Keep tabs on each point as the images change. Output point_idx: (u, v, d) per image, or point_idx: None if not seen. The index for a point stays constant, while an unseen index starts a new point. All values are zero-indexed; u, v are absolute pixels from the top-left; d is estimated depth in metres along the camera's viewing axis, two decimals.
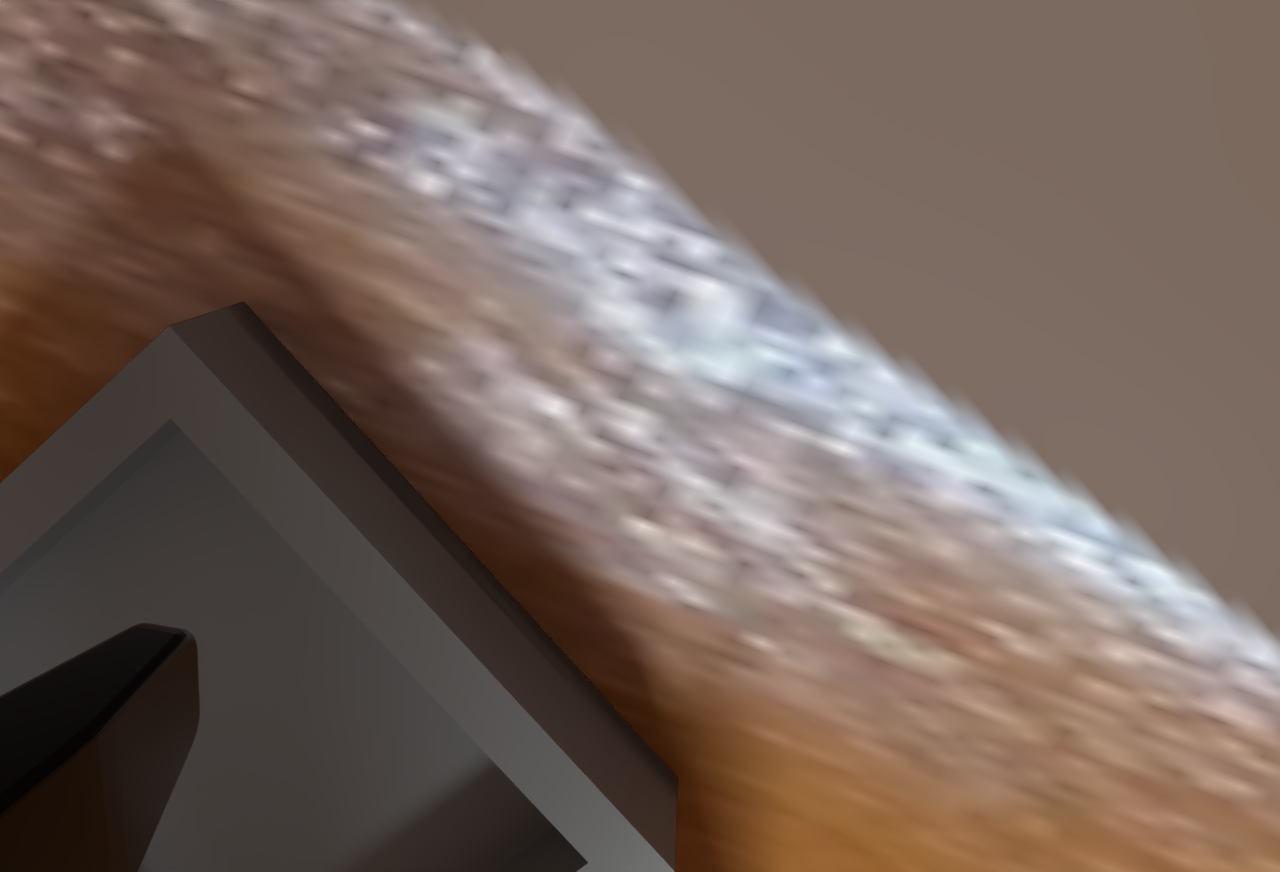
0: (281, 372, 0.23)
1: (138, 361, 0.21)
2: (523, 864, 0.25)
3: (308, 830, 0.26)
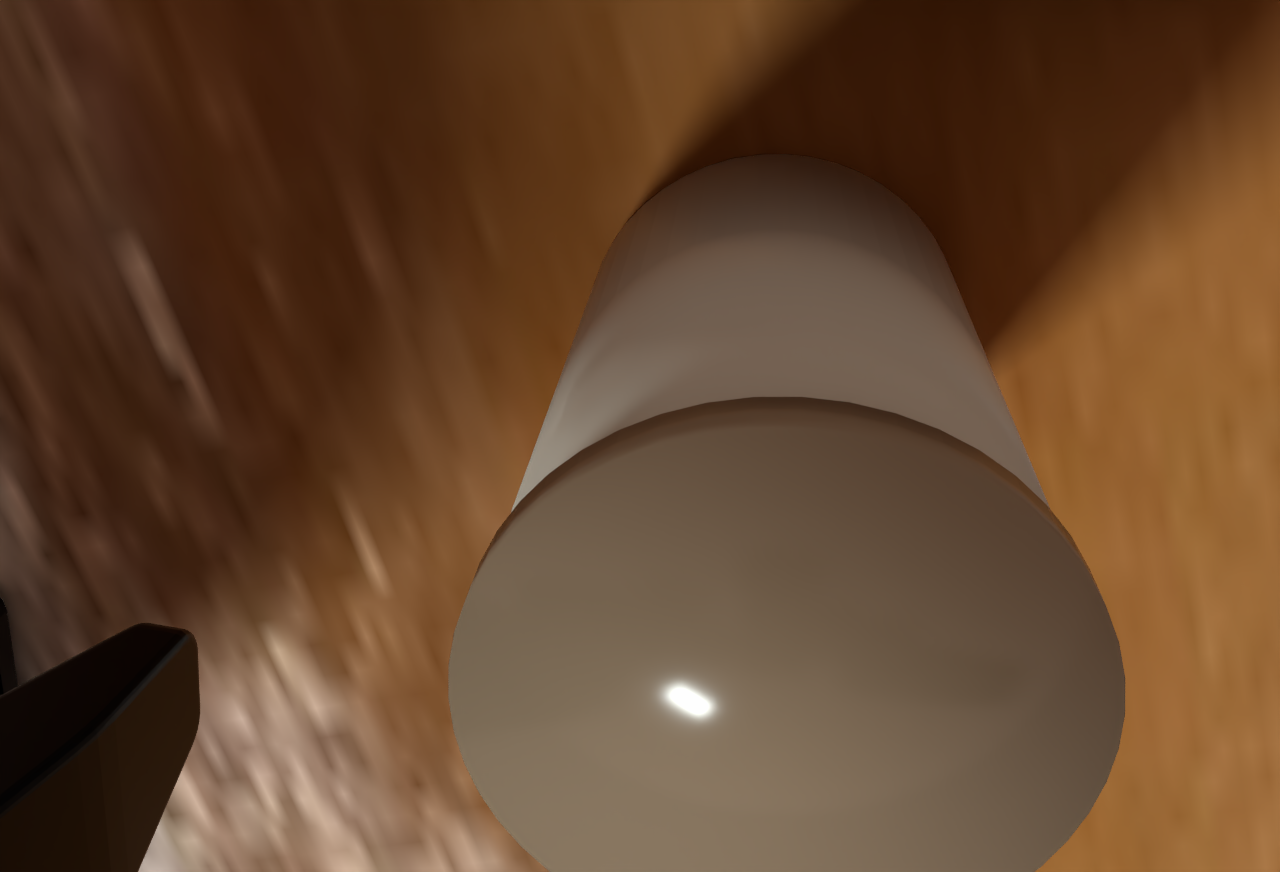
0: None
1: None
2: None
3: None
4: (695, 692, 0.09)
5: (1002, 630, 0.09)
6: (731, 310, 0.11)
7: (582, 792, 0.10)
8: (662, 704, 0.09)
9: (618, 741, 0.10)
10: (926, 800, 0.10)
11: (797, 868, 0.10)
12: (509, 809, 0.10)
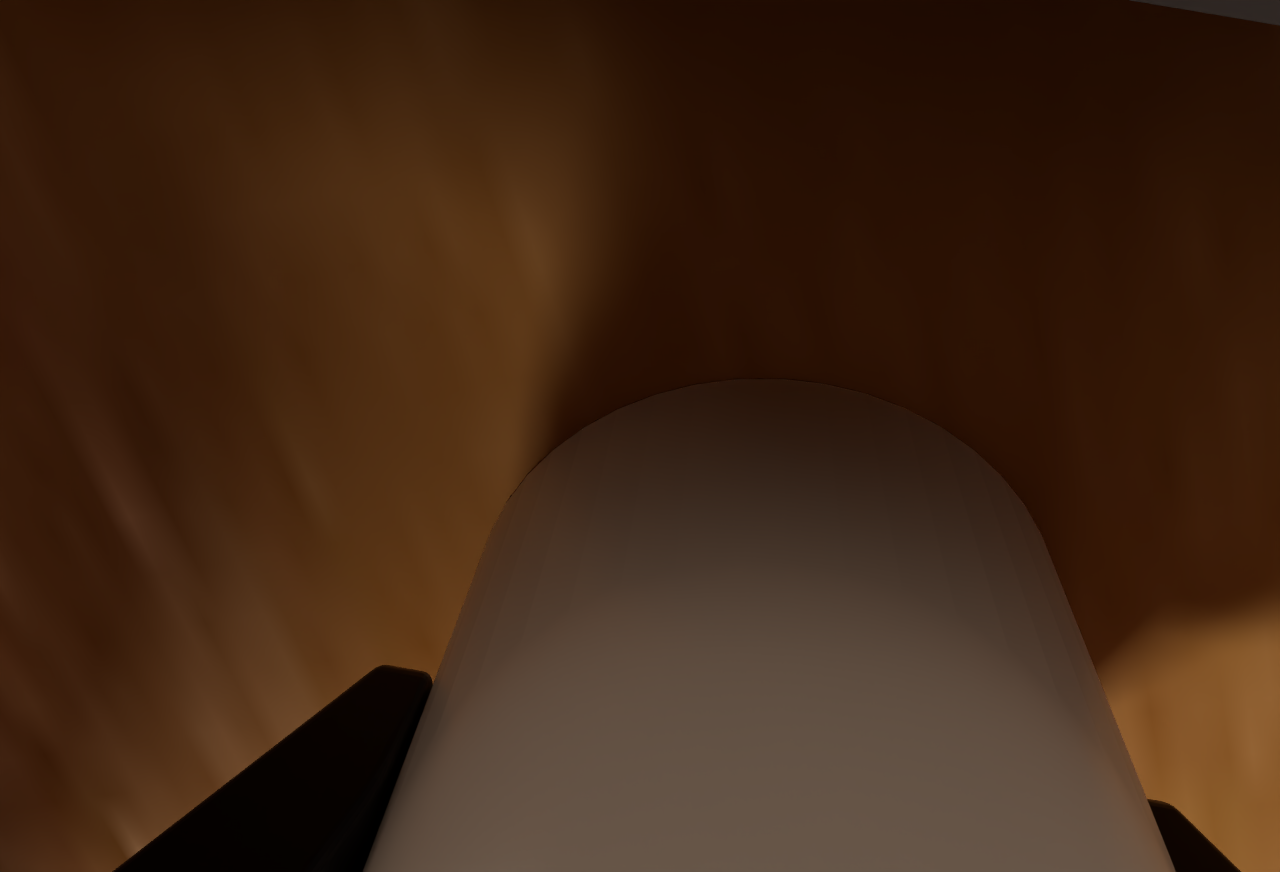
0: None
1: None
2: None
3: None
4: None
5: None
6: None
7: None
8: None
9: None
10: None
11: None
12: None
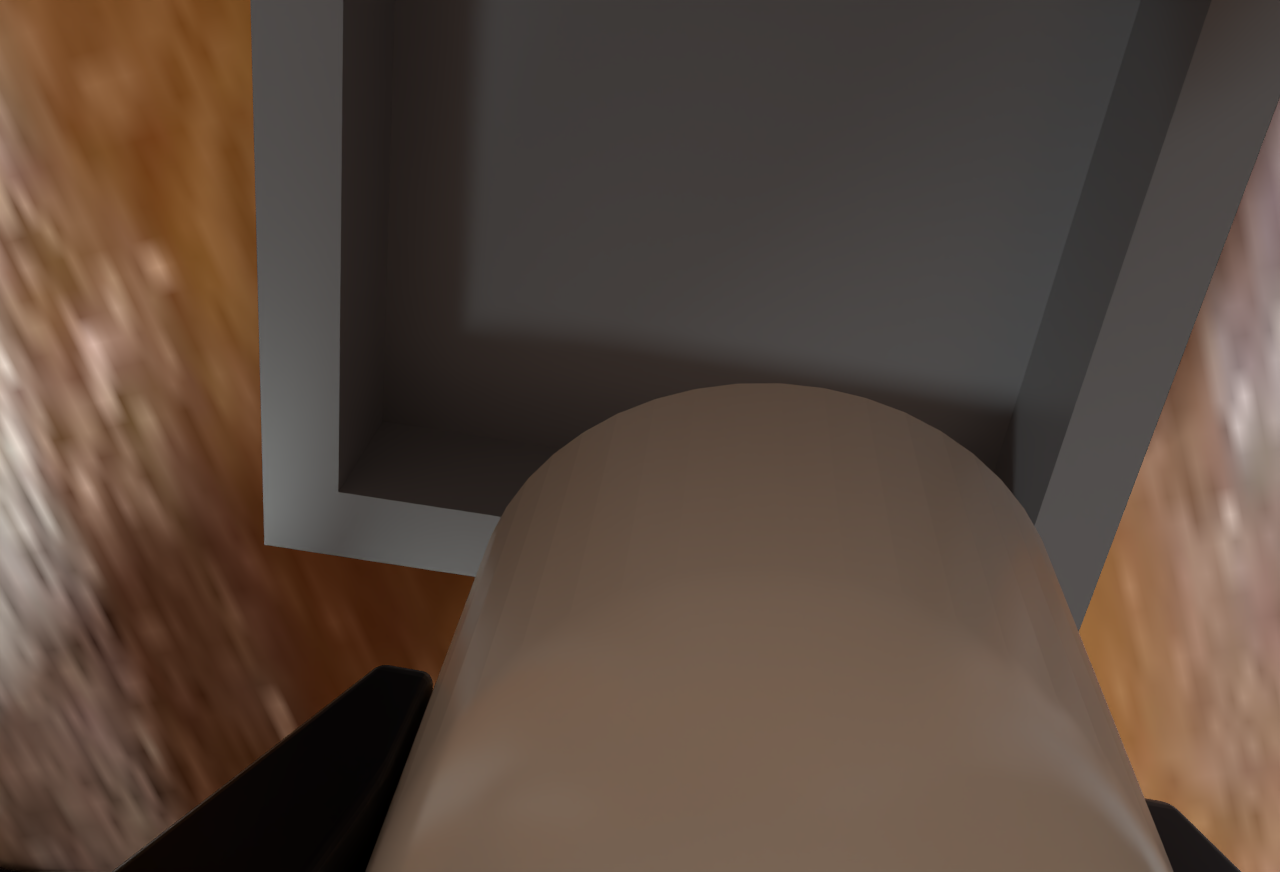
0: None
1: None
2: None
3: (691, 282, 0.19)
4: None
5: None
6: None
7: None
8: None
9: None
10: None
11: None
12: None
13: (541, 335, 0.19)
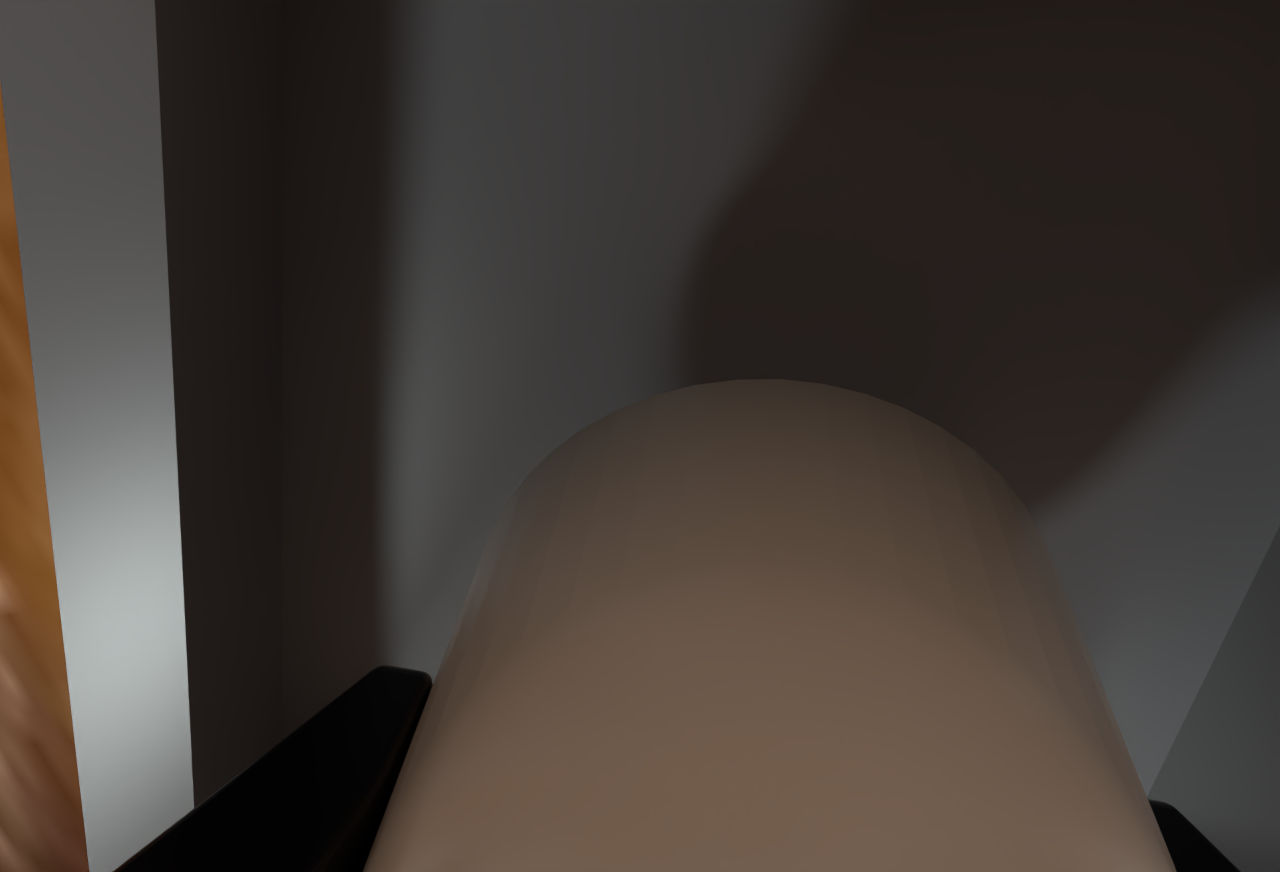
0: None
1: None
2: None
3: None
4: None
5: None
6: None
7: None
8: None
9: None
10: None
11: None
12: None
13: None
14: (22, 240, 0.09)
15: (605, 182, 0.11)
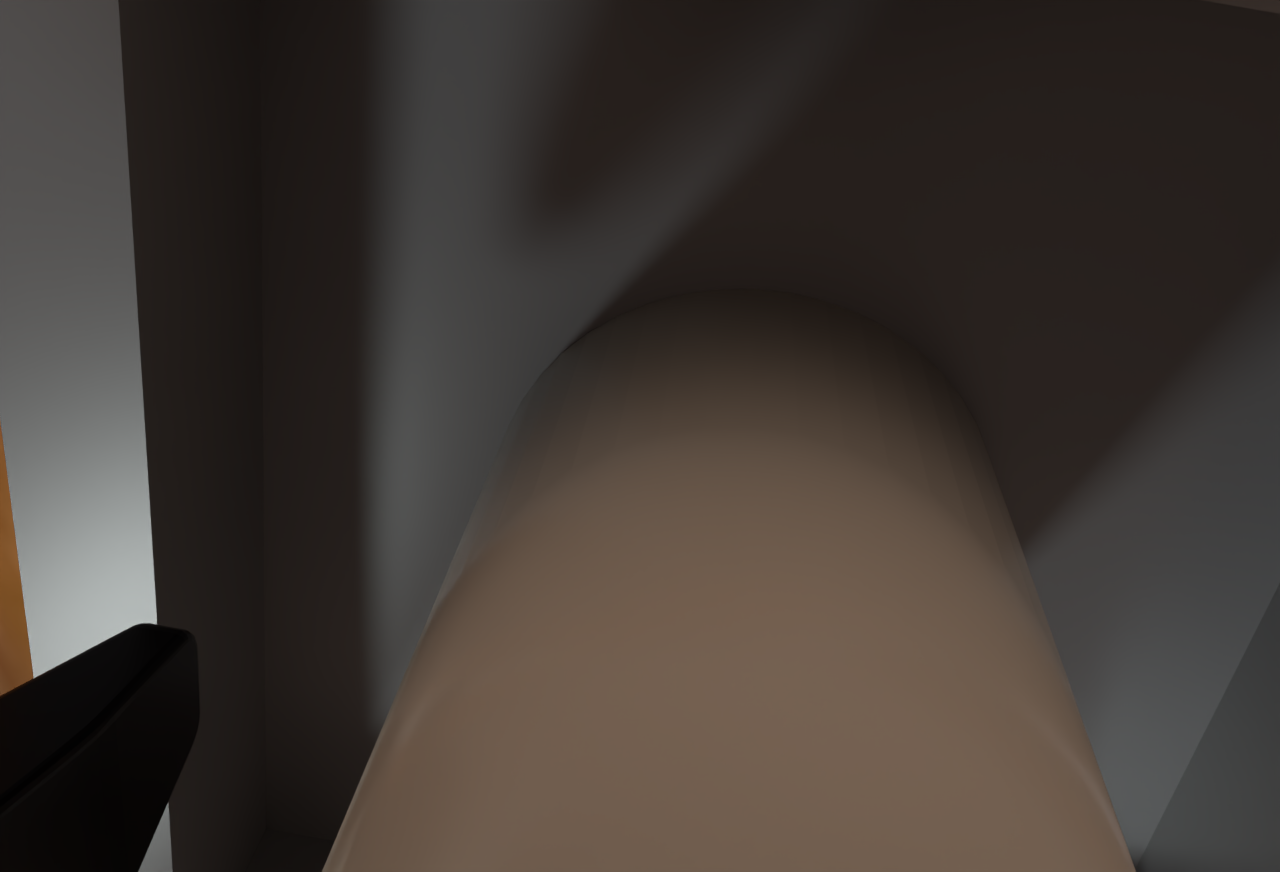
0: None
1: None
2: None
3: None
4: None
5: None
6: (643, 661, 0.06)
7: None
8: None
9: None
10: None
11: None
12: None
13: None
14: None
15: (596, 201, 0.11)
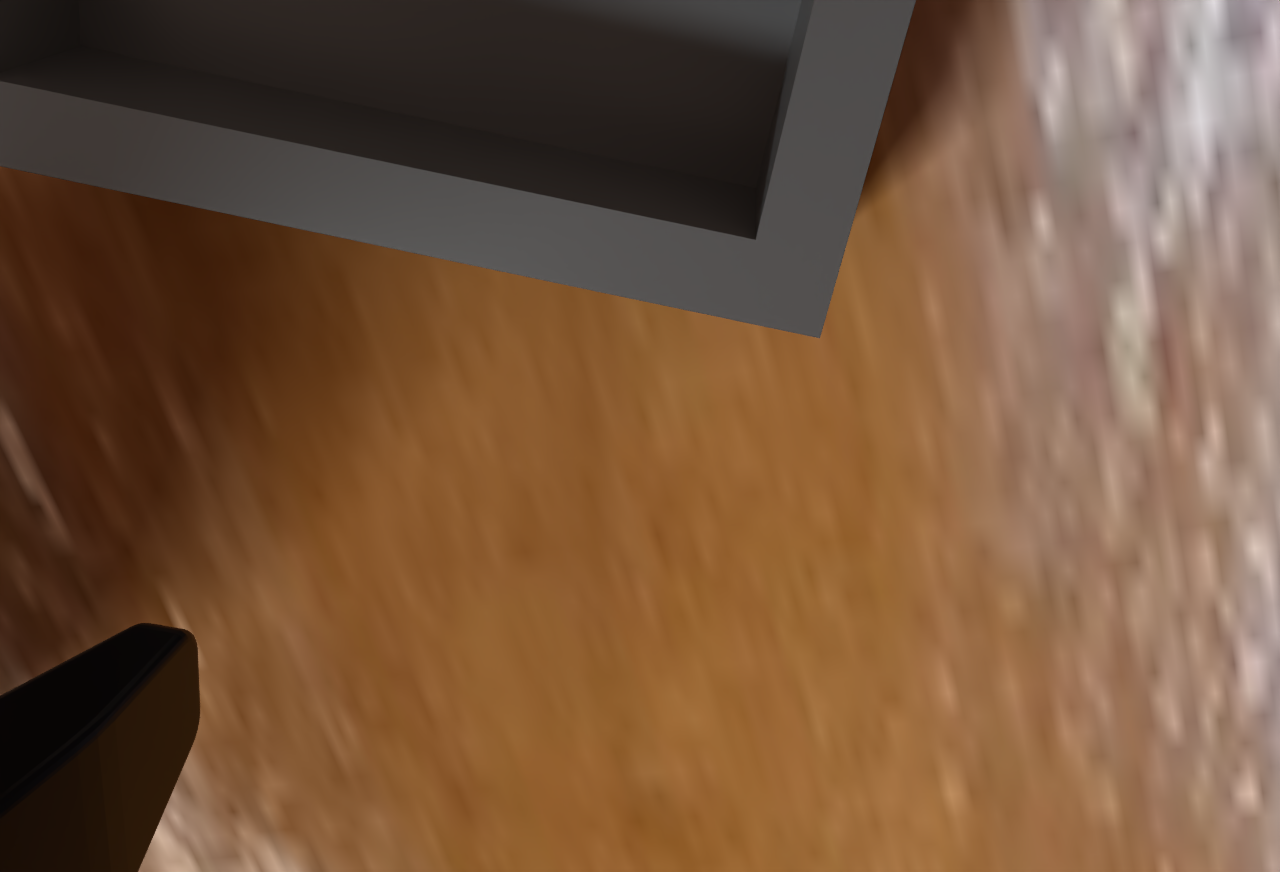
0: None
1: None
2: (618, 170, 0.17)
3: None
4: None
5: None
6: None
7: None
8: None
9: None
10: None
11: None
12: None
13: None
14: None
15: None
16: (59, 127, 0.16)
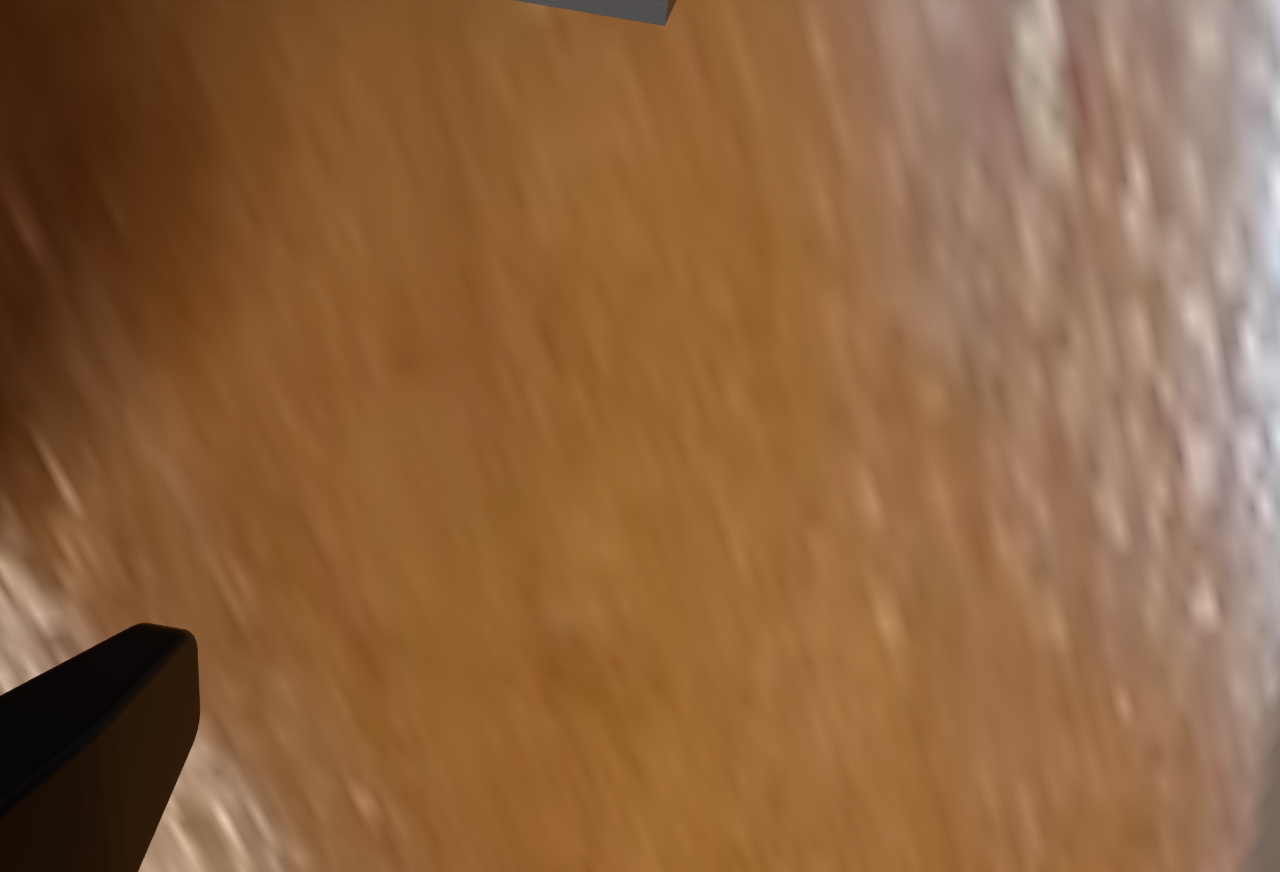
0: None
1: None
2: None
3: None
4: None
5: None
6: None
7: None
8: None
9: None
10: None
11: None
12: None
13: None
14: None
15: None
16: None
